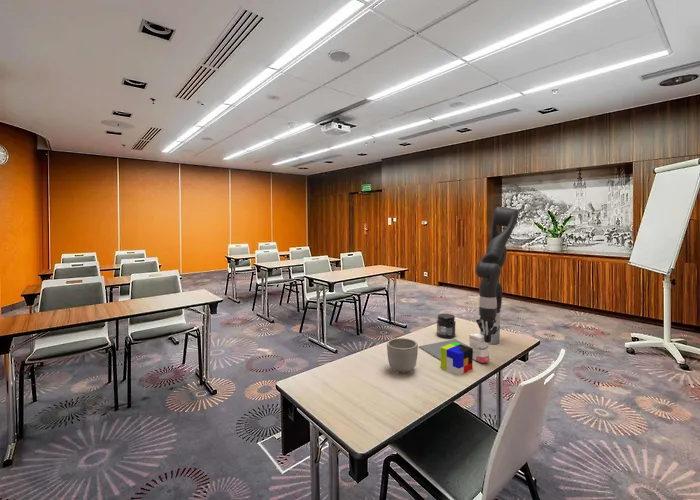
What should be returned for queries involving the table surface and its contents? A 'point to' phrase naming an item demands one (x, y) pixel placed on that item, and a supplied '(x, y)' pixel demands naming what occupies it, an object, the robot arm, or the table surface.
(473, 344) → the ink box
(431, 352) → the mat
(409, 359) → the planter
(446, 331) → the supplement container
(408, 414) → the table surface
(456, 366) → the puzzle toy
